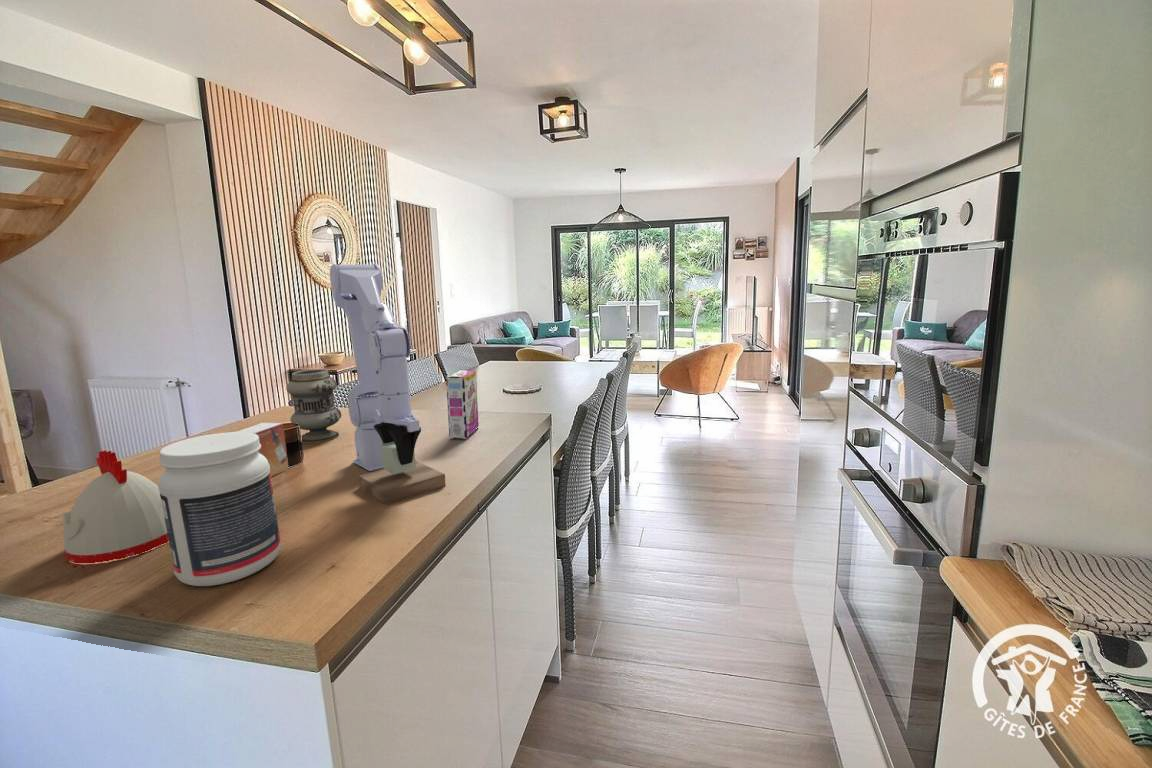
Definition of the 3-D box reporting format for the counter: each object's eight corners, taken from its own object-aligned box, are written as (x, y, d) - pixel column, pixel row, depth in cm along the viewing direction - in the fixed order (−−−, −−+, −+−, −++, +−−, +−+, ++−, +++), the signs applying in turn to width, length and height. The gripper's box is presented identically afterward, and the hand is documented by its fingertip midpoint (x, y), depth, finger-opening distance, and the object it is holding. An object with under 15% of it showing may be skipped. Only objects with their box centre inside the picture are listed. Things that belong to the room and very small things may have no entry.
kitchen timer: (158, 517, 92) (143, 435, 90) (197, 533, 86) (182, 445, 83) (52, 552, 81) (30, 459, 78) (87, 574, 74) (65, 473, 71)
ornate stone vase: (300, 433, 144) (291, 368, 140) (347, 429, 147) (340, 366, 143) (287, 446, 132) (278, 376, 129) (338, 442, 135) (330, 373, 132)
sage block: (383, 468, 102) (380, 444, 102) (405, 463, 106) (402, 439, 105) (393, 474, 99) (391, 449, 98) (415, 468, 102) (413, 443, 101)
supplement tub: (301, 546, 80) (286, 430, 77) (235, 595, 68) (213, 459, 64) (228, 541, 82) (209, 428, 79) (150, 588, 70) (124, 456, 67)
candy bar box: (468, 440, 134) (463, 376, 131) (449, 440, 134) (444, 376, 131) (480, 428, 145) (476, 369, 142) (462, 428, 145) (458, 369, 142)
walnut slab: (360, 490, 104) (358, 475, 103) (416, 473, 112) (415, 460, 111) (387, 507, 95) (385, 491, 95) (445, 488, 103) (444, 474, 103)
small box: (261, 482, 108) (254, 433, 106) (238, 481, 109) (230, 432, 107) (289, 469, 116) (283, 422, 114) (268, 467, 117) (261, 422, 115)
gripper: (357, 390, 102) (364, 457, 105) (390, 401, 92) (397, 474, 94) (392, 385, 107) (398, 449, 110) (427, 394, 97) (433, 464, 99)
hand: (400, 460), depth 102 cm, fingers closed on sage block, 4 cm apart
